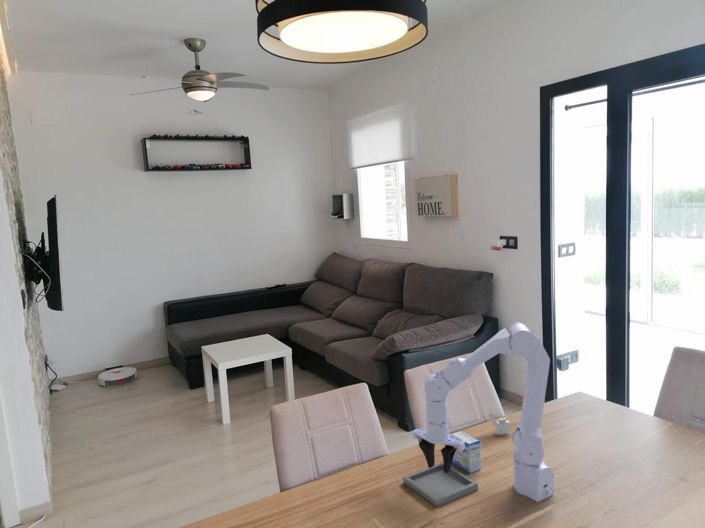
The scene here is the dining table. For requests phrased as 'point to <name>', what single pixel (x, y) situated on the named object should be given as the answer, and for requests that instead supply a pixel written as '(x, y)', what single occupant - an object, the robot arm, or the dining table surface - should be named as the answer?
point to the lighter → (500, 425)
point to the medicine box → (468, 453)
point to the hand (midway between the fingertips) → (439, 468)
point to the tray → (440, 484)
